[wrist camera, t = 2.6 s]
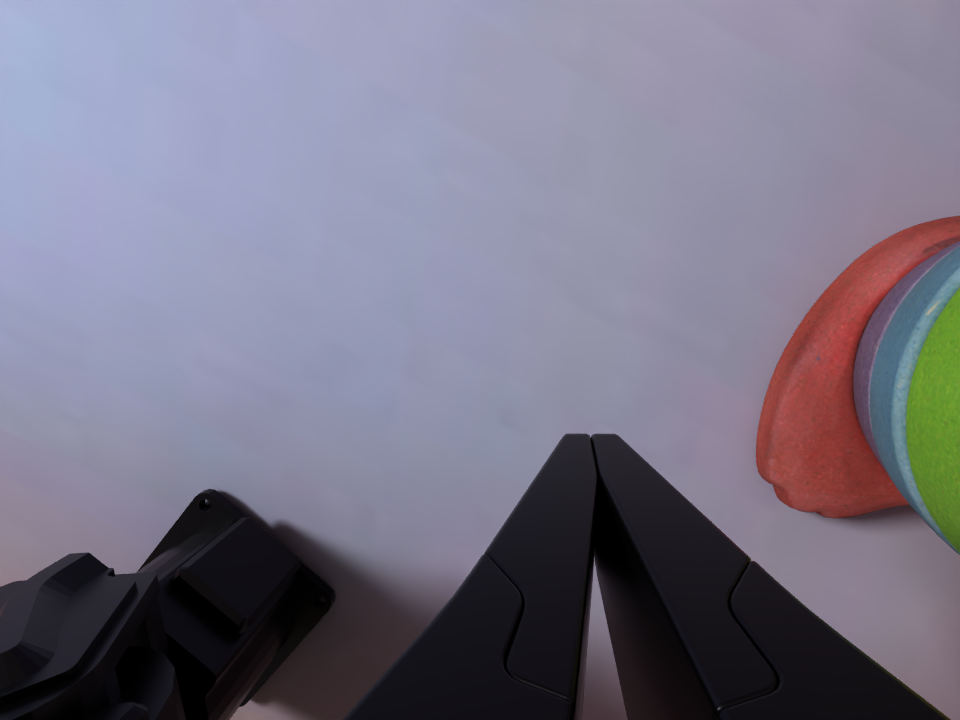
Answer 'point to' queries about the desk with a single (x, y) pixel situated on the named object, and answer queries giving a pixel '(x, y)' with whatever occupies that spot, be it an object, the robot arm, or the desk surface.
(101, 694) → the robot arm
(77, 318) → the desk surface
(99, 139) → the desk surface
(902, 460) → the stacking bear
